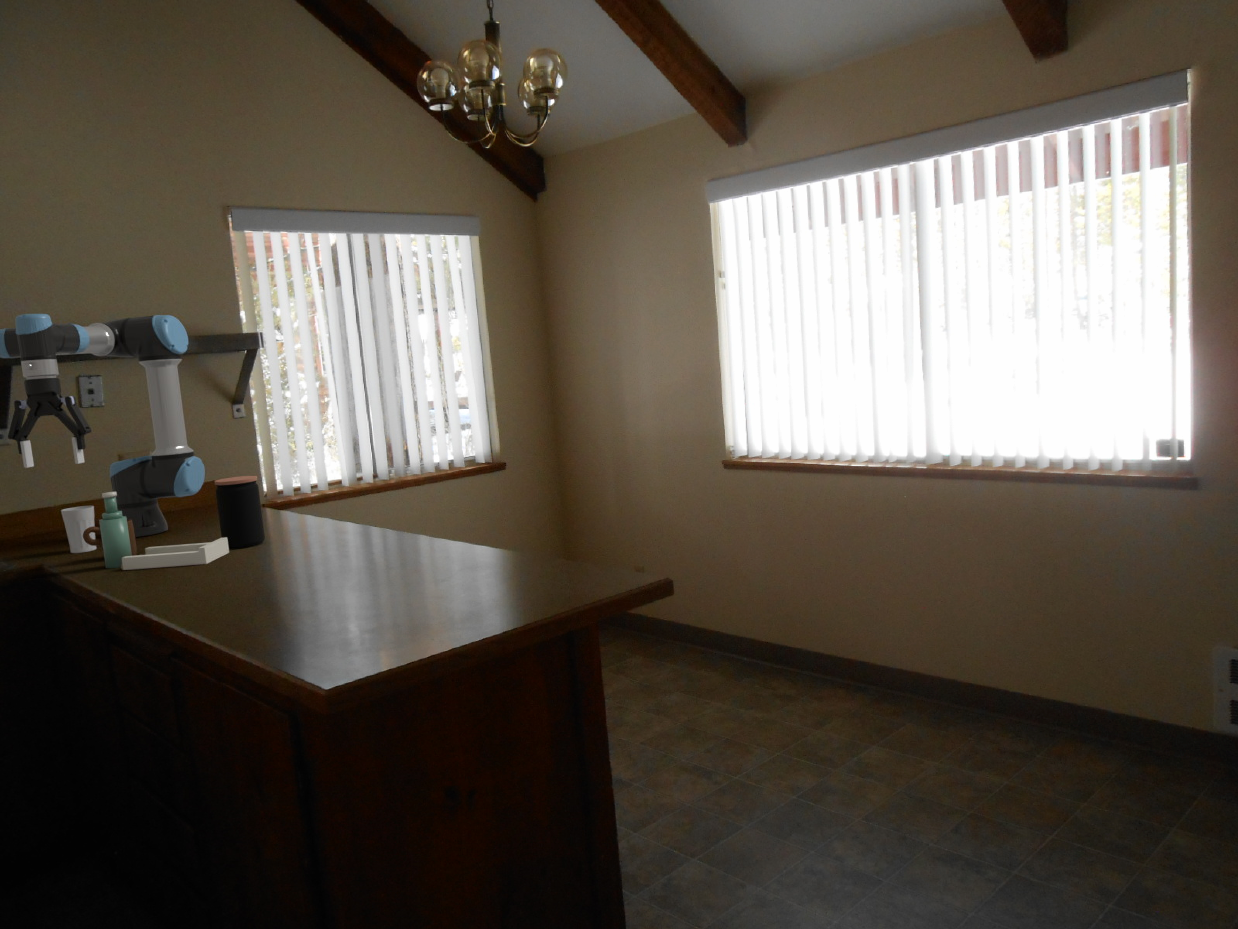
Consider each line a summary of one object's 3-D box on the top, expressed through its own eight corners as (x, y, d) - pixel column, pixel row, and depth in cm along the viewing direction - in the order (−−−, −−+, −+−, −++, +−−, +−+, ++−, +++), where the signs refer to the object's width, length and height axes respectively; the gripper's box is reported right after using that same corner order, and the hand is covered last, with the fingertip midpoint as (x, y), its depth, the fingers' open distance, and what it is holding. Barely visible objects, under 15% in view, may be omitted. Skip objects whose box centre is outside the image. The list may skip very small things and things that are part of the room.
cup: (89, 552, 255) (83, 509, 254) (61, 554, 256) (54, 511, 254) (105, 546, 263) (99, 504, 262) (78, 548, 263) (72, 507, 262)
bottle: (114, 563, 235) (103, 491, 233) (137, 562, 235) (127, 490, 233) (100, 569, 229) (90, 495, 227) (124, 567, 229) (114, 493, 227)
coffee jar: (272, 539, 252) (264, 474, 250) (253, 548, 242) (245, 480, 240) (235, 542, 253) (227, 477, 251) (214, 550, 243) (206, 482, 241)
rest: (146, 558, 239) (144, 543, 238) (229, 552, 238) (227, 537, 238) (119, 570, 226) (116, 554, 225) (206, 563, 225) (204, 547, 225)
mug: (91, 564, 236) (85, 528, 235) (82, 561, 242) (77, 526, 241) (141, 555, 245) (136, 520, 243) (132, 552, 250) (127, 518, 249)
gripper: (-18, 382, 223) (-5, 470, 226) (81, 374, 223) (94, 463, 225) (2, 381, 231) (15, 467, 233) (99, 373, 230) (111, 459, 233)
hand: (54, 465), depth 229 cm, fingers open, 12 cm apart
